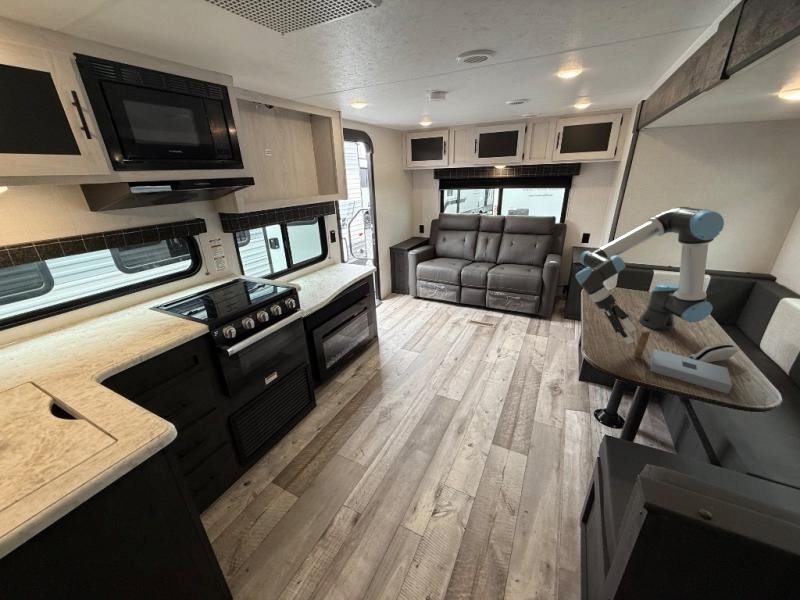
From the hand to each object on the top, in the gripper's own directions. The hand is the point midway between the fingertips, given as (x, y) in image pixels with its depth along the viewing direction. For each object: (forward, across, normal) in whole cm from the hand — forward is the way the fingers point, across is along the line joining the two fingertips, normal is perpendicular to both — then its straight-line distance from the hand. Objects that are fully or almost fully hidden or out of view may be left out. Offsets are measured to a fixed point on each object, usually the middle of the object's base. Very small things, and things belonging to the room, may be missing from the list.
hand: (632, 336), depth 141 cm
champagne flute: (-4, -60, -18) cm, 63 cm away
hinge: (+29, -18, +15) cm, 37 cm away
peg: (+10, -1, -4) cm, 10 cm away
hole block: (+22, +2, +8) cm, 23 cm away
